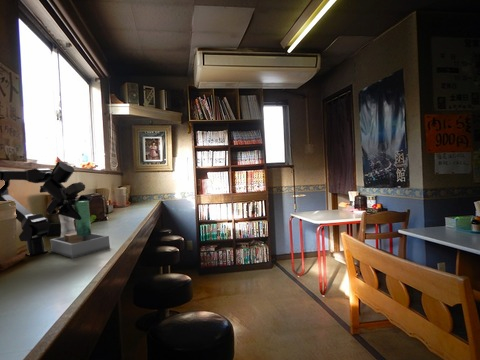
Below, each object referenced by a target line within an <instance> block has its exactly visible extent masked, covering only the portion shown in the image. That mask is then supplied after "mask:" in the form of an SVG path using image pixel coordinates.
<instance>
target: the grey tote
mask: <svg viewBox="0 0 480 360" xmlns="http://www.w3.org/2000/svg"><path fill="white" fill-rule="evenodd" d="M49 241H50V249H51V252H52V253H55V254H58V255H62V256H64V257H67V258H70V259H75V258H79V257H82V256H86V255H89V254H93V253H98V252H100V251H101V252H102V251H104V250H107V249H108V250H110V248H111V245H110V236H109V235H107V234H100V233H94V232H91V234H90V235H86V236H82V241H83V242H79V243H75V244H71V243H67V242H65V239H64V237H61V236H59V237H55V238H50V239H49Z"/></svg>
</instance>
